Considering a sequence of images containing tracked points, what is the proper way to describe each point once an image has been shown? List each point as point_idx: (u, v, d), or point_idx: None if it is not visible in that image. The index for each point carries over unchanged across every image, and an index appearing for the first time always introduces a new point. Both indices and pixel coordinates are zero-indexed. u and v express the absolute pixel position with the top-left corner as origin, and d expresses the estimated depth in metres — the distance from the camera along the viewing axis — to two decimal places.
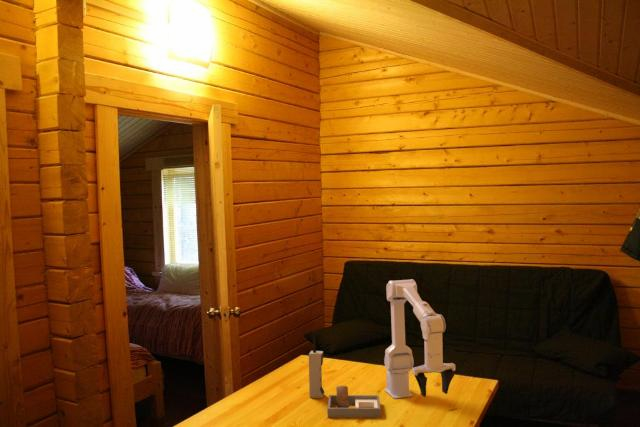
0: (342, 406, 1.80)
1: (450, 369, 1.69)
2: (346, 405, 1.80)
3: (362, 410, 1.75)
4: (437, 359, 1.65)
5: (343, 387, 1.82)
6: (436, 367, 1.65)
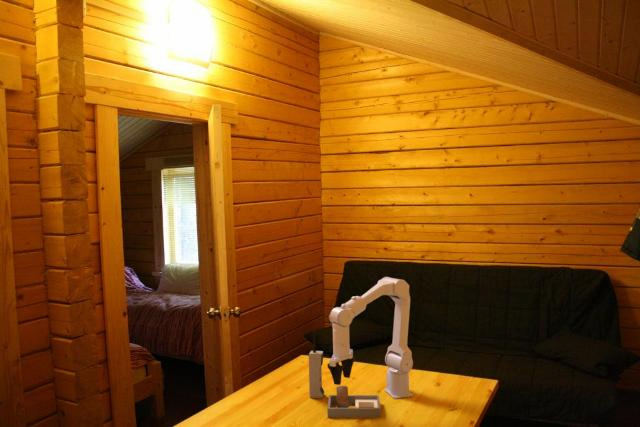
0: (342, 406, 1.80)
1: None
2: (346, 405, 1.80)
3: (362, 410, 1.75)
4: (348, 347, 1.80)
5: (343, 387, 1.81)
6: (348, 354, 1.80)
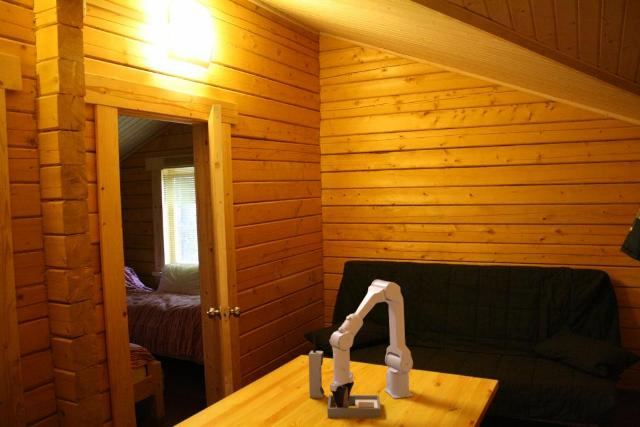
0: None
1: (350, 377, 1.86)
2: (346, 405, 1.80)
3: (362, 410, 1.75)
4: (348, 371, 1.80)
5: (343, 387, 1.82)
6: (348, 378, 1.80)
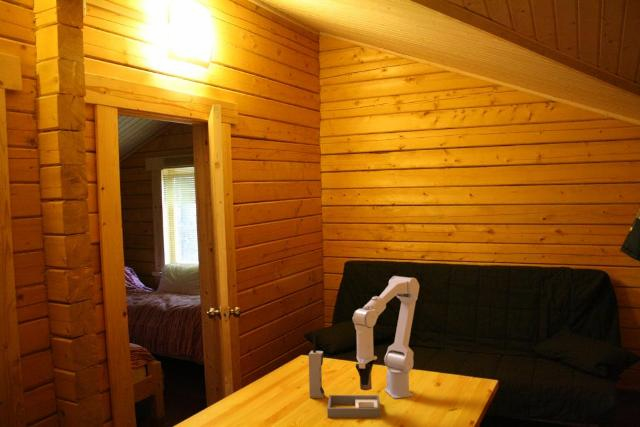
0: None
1: None
2: (370, 382, 1.80)
3: (362, 410, 1.75)
4: None
5: None
6: (373, 355, 1.80)
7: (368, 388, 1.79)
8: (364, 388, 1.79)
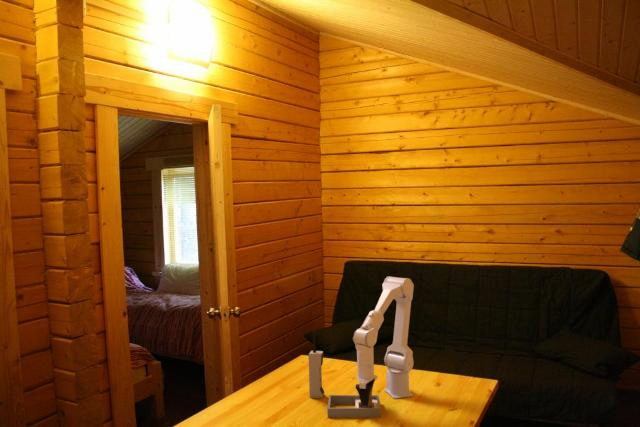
0: (368, 406, 1.79)
1: None
2: (371, 405, 1.80)
3: (362, 410, 1.75)
4: (373, 367, 1.80)
5: None
6: (373, 375, 1.80)
7: None
8: None
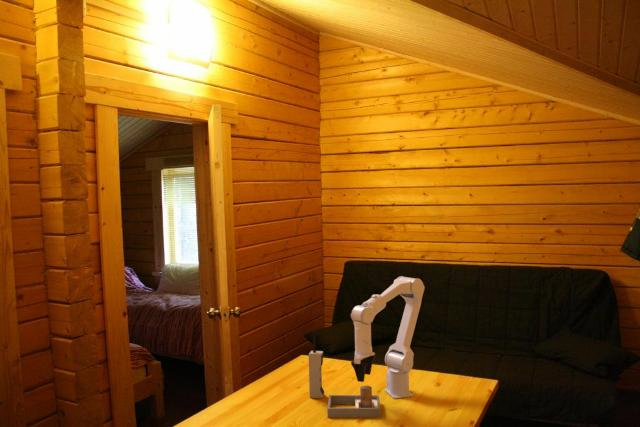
0: (368, 406, 1.79)
1: None
2: (371, 405, 1.80)
3: (362, 410, 1.75)
4: (370, 344, 1.83)
5: (367, 387, 1.81)
6: (370, 351, 1.83)
7: None
8: None
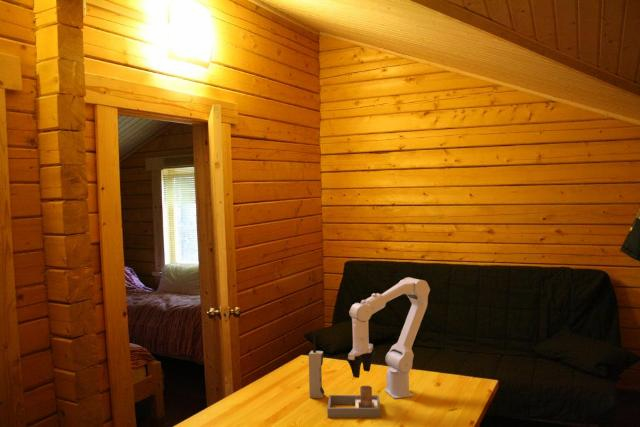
0: (368, 406, 1.79)
1: (370, 349, 1.92)
2: (371, 405, 1.80)
3: (362, 410, 1.75)
4: (367, 341, 1.86)
5: (367, 387, 1.81)
6: (367, 349, 1.86)
7: None
8: None
